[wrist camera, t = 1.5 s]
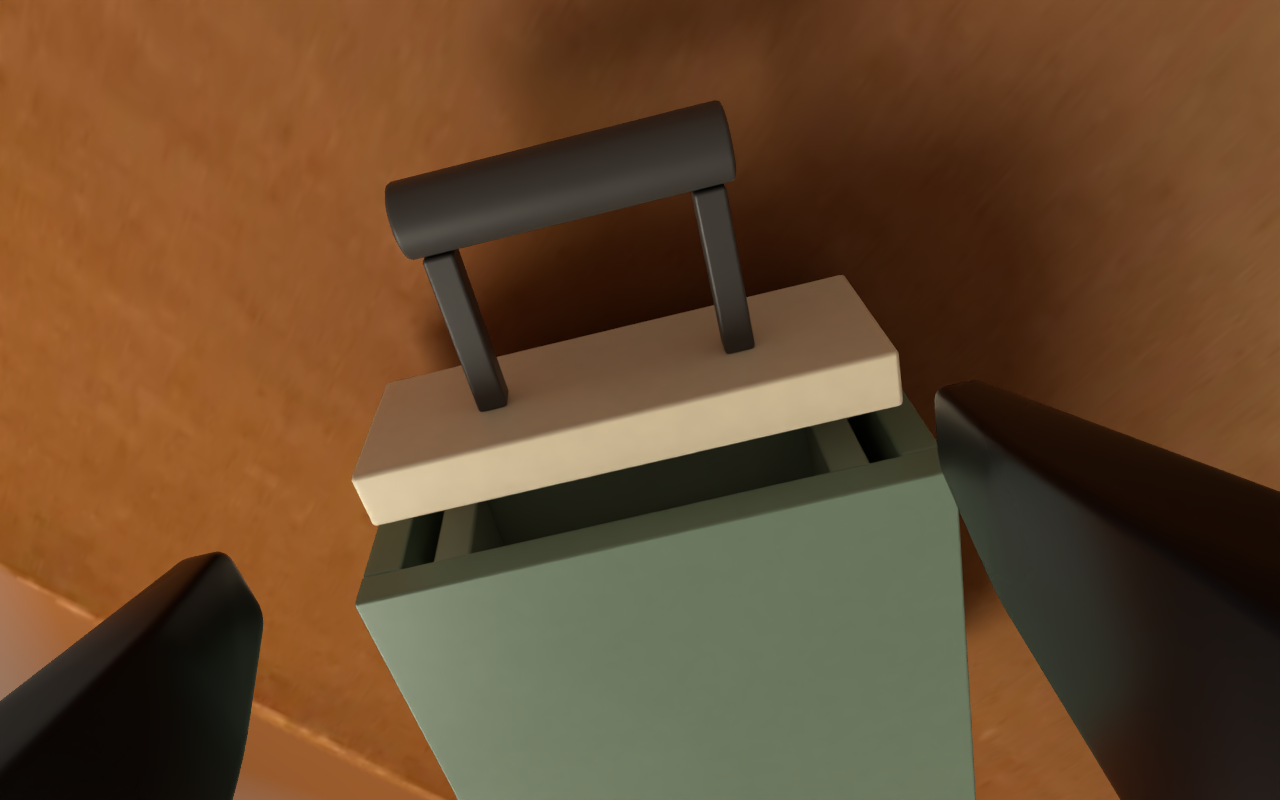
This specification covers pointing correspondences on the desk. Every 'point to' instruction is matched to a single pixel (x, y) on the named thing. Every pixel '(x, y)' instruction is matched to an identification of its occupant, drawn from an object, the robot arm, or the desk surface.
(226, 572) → the robot arm
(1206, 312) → the desk surface
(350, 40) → the desk surface
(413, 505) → the drawer
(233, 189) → the desk surface
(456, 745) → the cabinet
